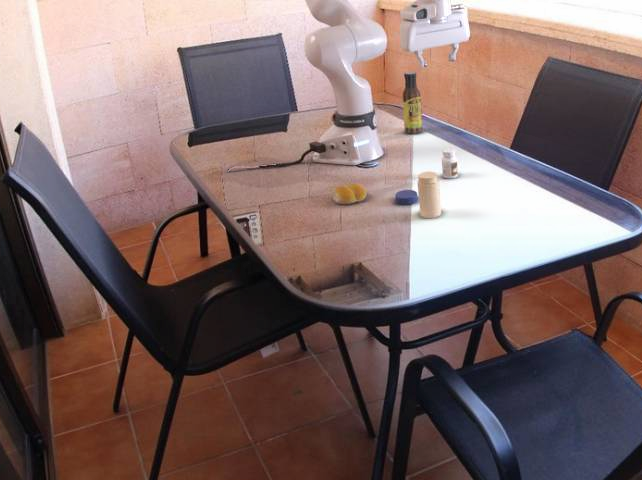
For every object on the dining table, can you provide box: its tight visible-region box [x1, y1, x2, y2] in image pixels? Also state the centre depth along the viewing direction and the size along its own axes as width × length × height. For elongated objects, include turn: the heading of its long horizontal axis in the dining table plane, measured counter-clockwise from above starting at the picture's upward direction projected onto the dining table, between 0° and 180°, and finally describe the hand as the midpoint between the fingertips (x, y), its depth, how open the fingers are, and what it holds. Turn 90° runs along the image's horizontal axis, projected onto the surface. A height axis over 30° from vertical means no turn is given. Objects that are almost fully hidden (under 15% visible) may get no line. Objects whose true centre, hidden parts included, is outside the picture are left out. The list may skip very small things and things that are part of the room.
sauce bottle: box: [402, 70, 423, 135], centre depth 225 cm, size 6×6×20 cm
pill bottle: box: [441, 148, 459, 179], centre depth 191 cm, size 4×4×8 cm
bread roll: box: [332, 183, 367, 205], centre depth 181 cm, size 8×9×4 cm
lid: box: [394, 189, 419, 206], centre depth 179 cm, size 6×6×2 cm
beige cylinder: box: [417, 171, 442, 219], centre depth 168 cm, size 5×5×11 cm
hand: (437, 64), depth 178 cm, fingers open, 8 cm apart
